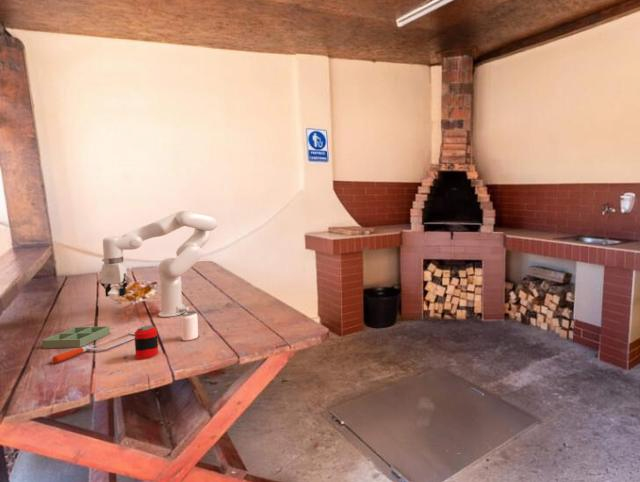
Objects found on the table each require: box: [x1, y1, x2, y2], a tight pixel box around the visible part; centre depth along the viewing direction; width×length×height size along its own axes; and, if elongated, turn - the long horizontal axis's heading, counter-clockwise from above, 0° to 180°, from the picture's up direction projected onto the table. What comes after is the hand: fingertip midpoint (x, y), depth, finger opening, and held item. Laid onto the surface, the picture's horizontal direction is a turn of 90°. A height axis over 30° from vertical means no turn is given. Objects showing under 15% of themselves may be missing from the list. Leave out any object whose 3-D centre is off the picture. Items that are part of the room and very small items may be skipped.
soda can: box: [134, 325, 159, 360], centre depth 166 cm, size 8×8×12 cm
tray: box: [41, 325, 111, 349], centre depth 183 cm, size 16×16×4 cm
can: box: [180, 310, 199, 342], centre depth 184 cm, size 6×6×12 cm
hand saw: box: [51, 331, 135, 364], centre depth 174 cm, size 33×3×10 cm
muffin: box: [108, 285, 122, 301], centre depth 199 cm, size 6×6×7 cm
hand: (115, 295), depth 199 cm, fingers closed on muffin, 6 cm apart
